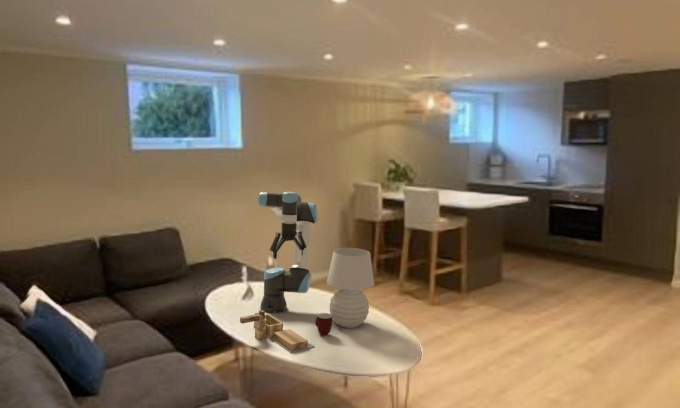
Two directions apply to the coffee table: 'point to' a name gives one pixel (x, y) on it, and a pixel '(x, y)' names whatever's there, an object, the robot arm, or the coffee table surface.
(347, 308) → the table lamp
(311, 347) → the mat
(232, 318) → the coffee table surface
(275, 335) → the lid
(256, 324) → the open wooden box
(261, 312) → the key
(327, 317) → the mug
